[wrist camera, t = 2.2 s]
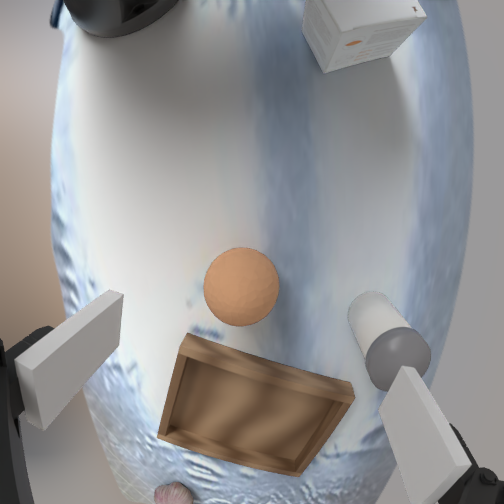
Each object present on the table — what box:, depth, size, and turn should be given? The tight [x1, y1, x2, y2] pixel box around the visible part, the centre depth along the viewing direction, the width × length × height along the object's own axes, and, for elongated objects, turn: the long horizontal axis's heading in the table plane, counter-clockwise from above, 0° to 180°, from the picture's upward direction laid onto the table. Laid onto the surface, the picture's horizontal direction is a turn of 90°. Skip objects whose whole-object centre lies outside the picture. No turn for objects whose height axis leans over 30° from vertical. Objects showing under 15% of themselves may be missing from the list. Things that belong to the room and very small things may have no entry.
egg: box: [204, 248, 279, 326], centre depth 28 cm, size 7×7×9 cm
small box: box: [302, 0, 427, 74], centre depth 22 cm, size 8×6×10 cm
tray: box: [157, 333, 355, 477], centre depth 35 cm, size 20×16×3 cm
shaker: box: [348, 292, 431, 392], centre depth 28 cm, size 5×5×11 cm
